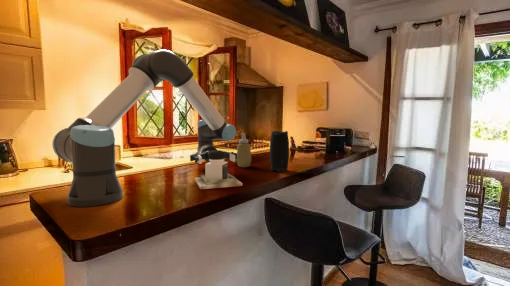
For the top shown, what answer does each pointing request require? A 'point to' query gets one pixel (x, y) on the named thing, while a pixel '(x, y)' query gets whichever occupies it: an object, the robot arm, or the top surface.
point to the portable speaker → (279, 151)
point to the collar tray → (217, 182)
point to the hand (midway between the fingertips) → (217, 159)
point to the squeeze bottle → (243, 152)
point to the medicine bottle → (216, 166)
